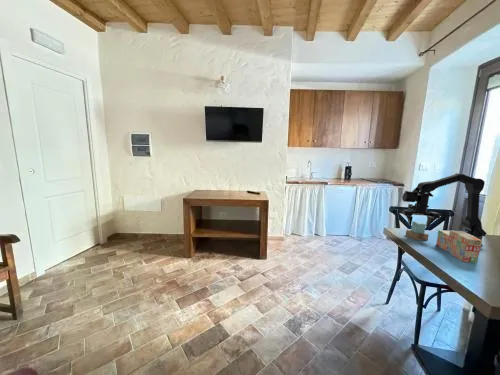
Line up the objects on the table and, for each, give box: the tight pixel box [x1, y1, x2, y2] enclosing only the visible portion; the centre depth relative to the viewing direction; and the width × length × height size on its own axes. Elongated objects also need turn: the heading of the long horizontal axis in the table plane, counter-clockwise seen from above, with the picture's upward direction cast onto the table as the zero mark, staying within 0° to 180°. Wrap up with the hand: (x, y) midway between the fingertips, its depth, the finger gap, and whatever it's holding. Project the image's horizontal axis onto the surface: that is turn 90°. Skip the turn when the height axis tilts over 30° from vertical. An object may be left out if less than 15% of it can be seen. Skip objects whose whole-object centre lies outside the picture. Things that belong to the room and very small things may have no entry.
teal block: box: [410, 220, 426, 234], centre depth 137 cm, size 5×5×6 cm
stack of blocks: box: [436, 229, 483, 264], centre depth 116 cm, size 21×6×12 cm, turn 168°
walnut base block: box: [405, 229, 429, 241], centre depth 138 cm, size 8×8×4 cm
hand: (418, 226), depth 137 cm, fingers open, 9 cm apart
